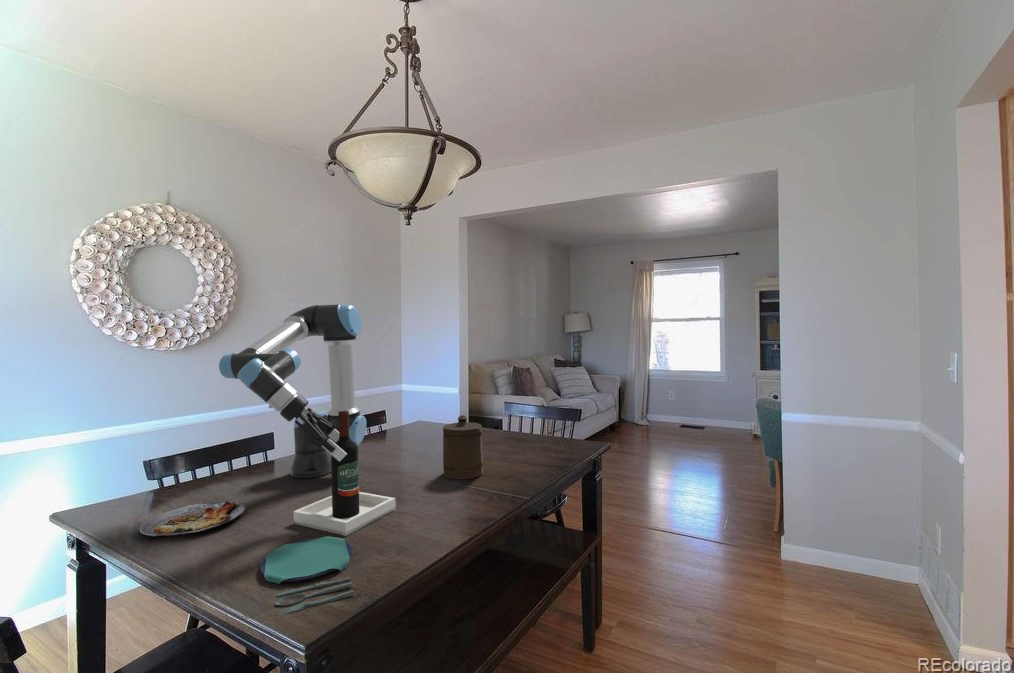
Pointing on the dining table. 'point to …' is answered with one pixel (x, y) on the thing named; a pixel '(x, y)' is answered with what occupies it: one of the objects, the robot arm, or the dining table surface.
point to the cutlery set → (307, 567)
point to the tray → (322, 518)
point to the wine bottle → (345, 474)
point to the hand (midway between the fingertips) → (345, 451)
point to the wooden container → (462, 449)
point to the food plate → (193, 518)
